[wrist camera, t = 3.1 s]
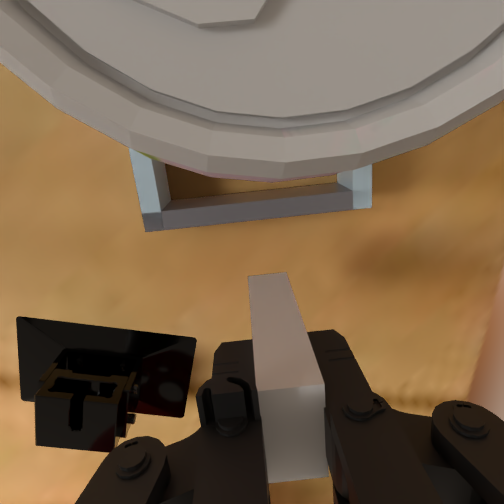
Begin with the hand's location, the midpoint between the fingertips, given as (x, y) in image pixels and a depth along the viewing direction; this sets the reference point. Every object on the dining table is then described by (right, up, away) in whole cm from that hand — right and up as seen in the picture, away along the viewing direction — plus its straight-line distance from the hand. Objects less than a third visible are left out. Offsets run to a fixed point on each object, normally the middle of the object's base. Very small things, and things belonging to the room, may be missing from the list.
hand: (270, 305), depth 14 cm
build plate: (-9, -4, +7) cm, 12 cm away
